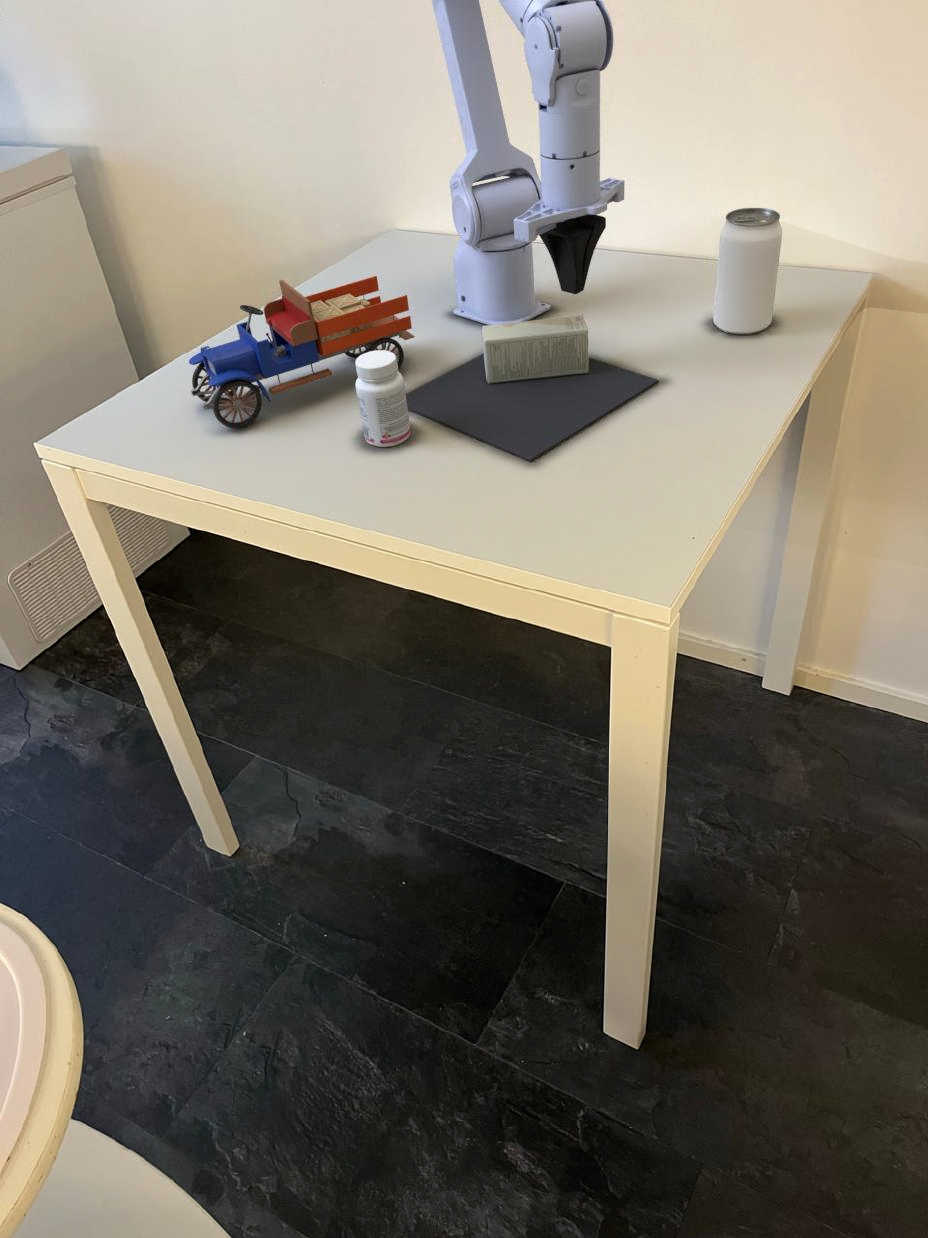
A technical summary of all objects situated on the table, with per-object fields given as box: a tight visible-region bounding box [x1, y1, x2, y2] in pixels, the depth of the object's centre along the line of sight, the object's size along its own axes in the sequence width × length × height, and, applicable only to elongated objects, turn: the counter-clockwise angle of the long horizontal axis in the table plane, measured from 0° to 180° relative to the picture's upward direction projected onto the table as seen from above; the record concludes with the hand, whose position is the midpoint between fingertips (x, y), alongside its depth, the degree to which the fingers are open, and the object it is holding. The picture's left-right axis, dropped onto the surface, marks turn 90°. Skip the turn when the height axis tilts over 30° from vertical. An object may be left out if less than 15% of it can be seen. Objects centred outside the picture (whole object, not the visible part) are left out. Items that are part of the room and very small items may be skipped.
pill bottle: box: [354, 349, 412, 448], centre depth 95 cm, size 5×5×8 cm
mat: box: [406, 353, 660, 463], centre depth 102 cm, size 20×20×1 cm
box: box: [481, 314, 590, 384], centre depth 103 cm, size 5×4×11 cm
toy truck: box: [188, 275, 415, 429], centre depth 104 cm, size 8×25×11 cm, turn 120°
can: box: [712, 207, 783, 336], centre depth 106 cm, size 6×6×12 cm
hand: (572, 290), depth 101 cm, fingers closed
